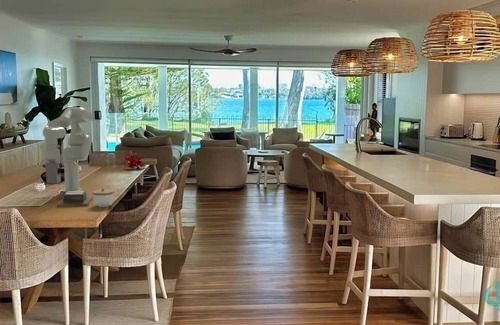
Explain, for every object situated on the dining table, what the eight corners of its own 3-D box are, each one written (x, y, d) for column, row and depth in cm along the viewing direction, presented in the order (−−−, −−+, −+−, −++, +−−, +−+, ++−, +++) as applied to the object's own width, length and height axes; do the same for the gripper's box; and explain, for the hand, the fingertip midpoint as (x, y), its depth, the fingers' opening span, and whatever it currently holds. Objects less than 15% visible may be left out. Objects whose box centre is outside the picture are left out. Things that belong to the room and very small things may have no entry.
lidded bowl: (113, 207, 294) (112, 189, 292) (91, 208, 291) (91, 190, 290) (114, 203, 306) (114, 186, 304) (93, 203, 303) (93, 186, 302)
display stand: (63, 200, 314) (63, 189, 313) (92, 199, 317) (91, 189, 316) (57, 206, 294) (56, 196, 293) (87, 205, 297) (87, 195, 297)
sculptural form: (150, 157, 464) (131, 149, 468) (141, 152, 440) (121, 145, 445) (143, 176, 462) (124, 168, 467) (132, 172, 438) (112, 164, 443)
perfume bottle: (60, 181, 320) (59, 154, 317) (57, 183, 314) (55, 156, 311) (50, 181, 320) (48, 154, 317) (46, 183, 313) (44, 156, 310)
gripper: (66, 146, 318) (68, 172, 321) (39, 146, 315) (40, 173, 318) (64, 147, 311) (66, 175, 314) (36, 148, 308) (38, 175, 311)
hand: (53, 174), depth 316 cm, fingers closed on perfume bottle, 5 cm apart
